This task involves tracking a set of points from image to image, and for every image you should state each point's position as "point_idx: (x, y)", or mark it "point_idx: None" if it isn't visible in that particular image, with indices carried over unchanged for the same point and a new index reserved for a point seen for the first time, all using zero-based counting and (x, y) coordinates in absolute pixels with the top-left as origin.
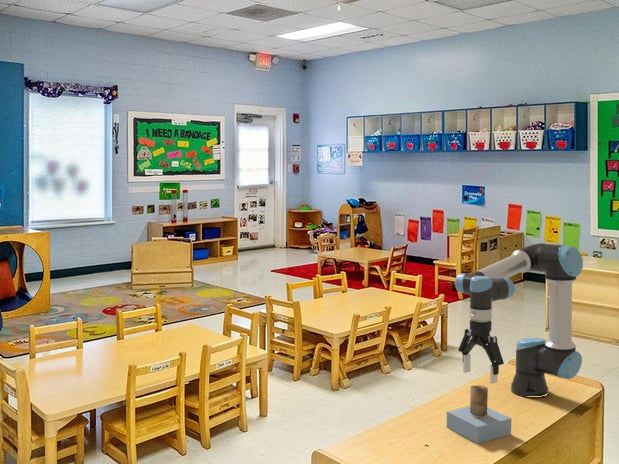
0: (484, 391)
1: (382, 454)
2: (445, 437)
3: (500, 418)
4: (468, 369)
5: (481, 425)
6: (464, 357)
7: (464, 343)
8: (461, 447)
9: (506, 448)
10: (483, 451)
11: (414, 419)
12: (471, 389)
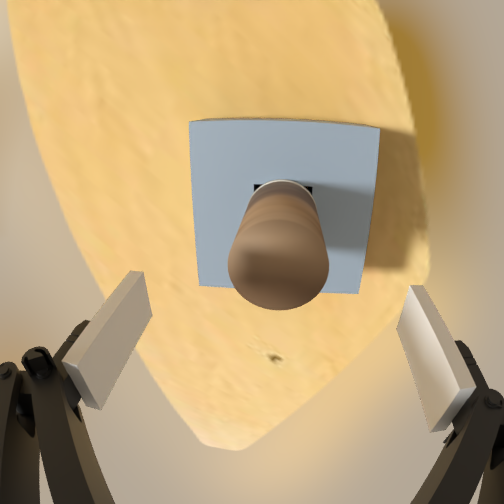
0: (328, 273)
1: (261, 422)
2: None
3: (357, 167)
4: (138, 297)
5: (358, 275)
6: (102, 395)
7: (32, 477)
8: (334, 308)
9: (414, 216)
10: (385, 280)
11: None
12: (263, 305)
